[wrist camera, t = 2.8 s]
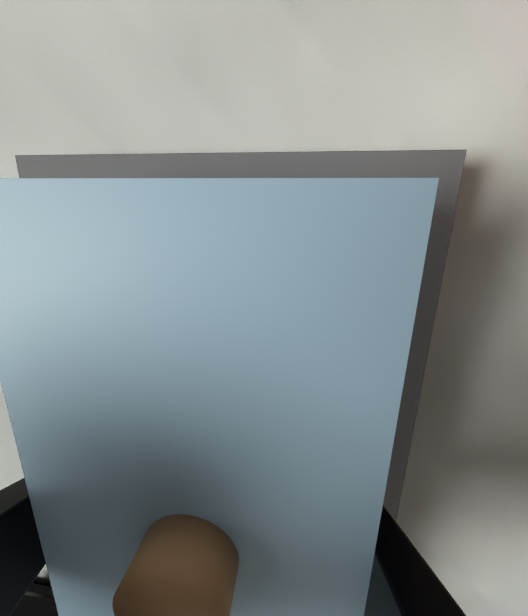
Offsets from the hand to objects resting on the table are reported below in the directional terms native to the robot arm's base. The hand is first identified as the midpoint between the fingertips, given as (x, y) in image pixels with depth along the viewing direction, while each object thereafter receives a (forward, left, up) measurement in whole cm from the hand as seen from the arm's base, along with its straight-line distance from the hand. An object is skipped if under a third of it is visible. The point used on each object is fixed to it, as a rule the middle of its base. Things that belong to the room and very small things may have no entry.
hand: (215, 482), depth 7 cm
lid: (0, 0, -1) cm, 1 cm away
